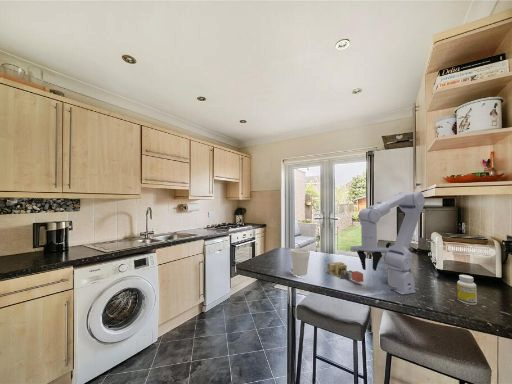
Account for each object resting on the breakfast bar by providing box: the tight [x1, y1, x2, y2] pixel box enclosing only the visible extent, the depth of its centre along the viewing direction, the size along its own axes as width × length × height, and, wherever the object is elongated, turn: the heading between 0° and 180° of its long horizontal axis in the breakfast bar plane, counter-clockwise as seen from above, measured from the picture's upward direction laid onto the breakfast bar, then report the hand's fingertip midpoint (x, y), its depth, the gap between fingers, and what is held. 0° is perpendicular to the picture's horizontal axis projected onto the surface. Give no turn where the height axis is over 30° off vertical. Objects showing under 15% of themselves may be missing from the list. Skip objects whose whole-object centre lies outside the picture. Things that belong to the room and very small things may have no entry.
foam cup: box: [290, 247, 310, 276], centre depth 112 cm, size 10×9×13 cm
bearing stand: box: [327, 261, 353, 280], centre depth 109 cm, size 11×10×6 cm
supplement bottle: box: [456, 274, 478, 306], centre depth 85 cm, size 5×5×10 cm
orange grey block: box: [343, 270, 364, 283], centre depth 101 cm, size 10×3×4 cm, turn 17°
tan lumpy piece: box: [334, 263, 348, 275], centre depth 109 cm, size 3×5×5 cm, turn 107°
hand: (369, 269), depth 92 cm, fingers open, 3 cm apart
